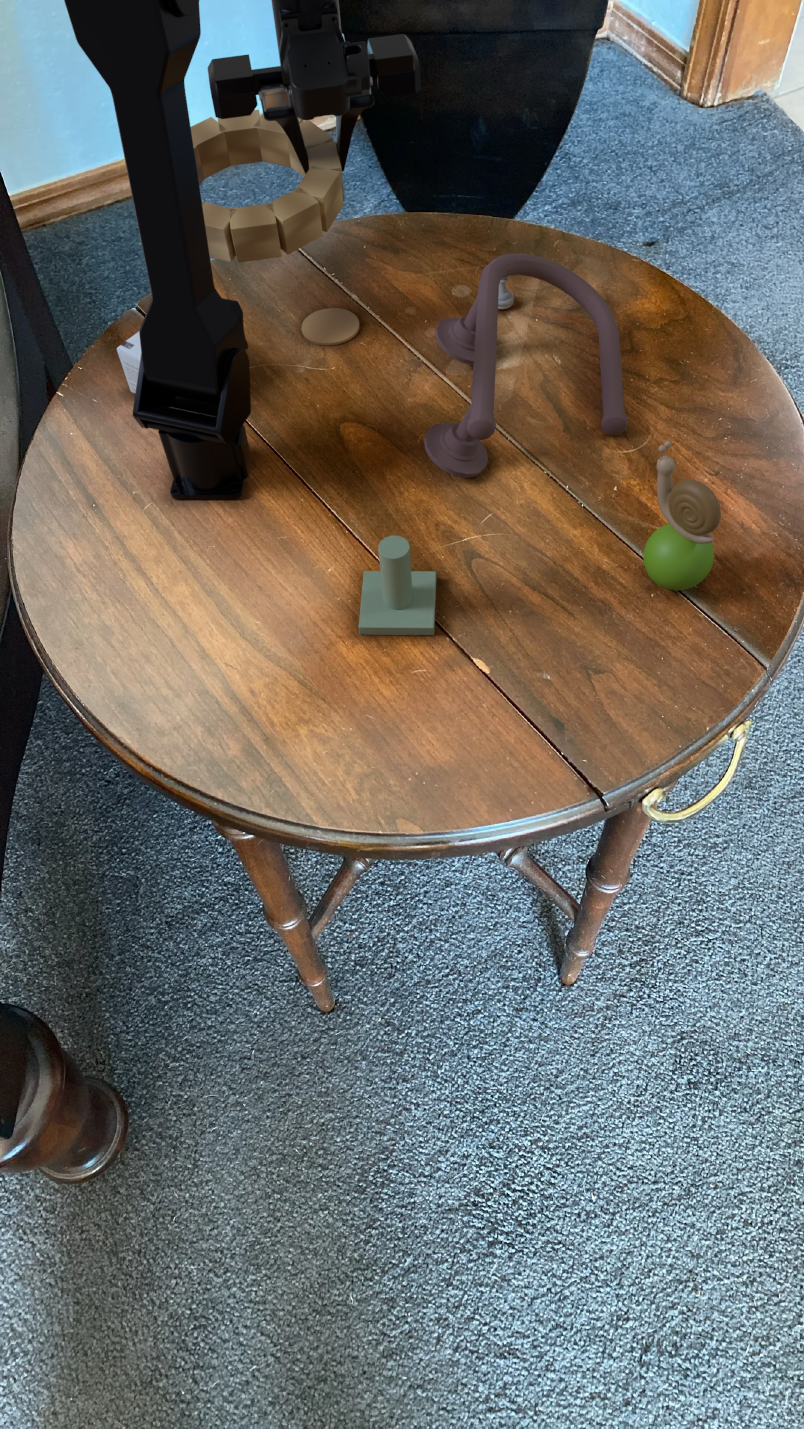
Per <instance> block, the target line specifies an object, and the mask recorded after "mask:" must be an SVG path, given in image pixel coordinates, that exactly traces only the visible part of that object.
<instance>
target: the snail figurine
mask: <svg viewBox="0 0 804 1429" xmlns="http://www.w3.org/2000/svg"><path fill="white" fill-rule="evenodd" d="M672 446H673V443H672V441H671V440H666V441H665V442H664V444H661V445H659V447H658V450H657V451H658V452H659V458H658V459H657V461H656V462H657V463H656V471H657V477H656V478H657V479H656V493H657V501H658V506H659V510H660V512H661V515H662V516H663V517H664V519H665V520H666V521H667V522H668V523H666V524H663V525H661V526H660V527H659V528H657V529H656V530H654V532H653V533H651V535H650V536H649V538H648V539H647V541H646V544H645V545H644V549H643V555H642V556H643V558H642V560H643V565H644V568H645V571H646V573H647V575H648V577H649V578H650V580H652V581H653V582H654V583H655V584H656V585H658V586H659V587H661V588H663V589H666V590H669V591H685V590H688V589H692V588H693V587H696V586H697V585H699V584H700V583H701V582H703V581H704V580H705V579H706V577H707V576H708V575H709V573H711V570H712V568H713V565H714V562H715V561H714V560H715V548H714V544H713V542H714V541H715V537H714V536H713V535H711V533H712V532H714V531H715V530H716V529H717V528H718V526H719V525H720V522H721V517H722V511H721V510H722V509H721V505H720V501H719V500H718V498H717V496H716V495H715V492H713V490H712V489H711V488H710V487H709V486H707V485H706V484H705V483H703V482H701V481H699V480H695V479H684V480H683V479H682V480H681V481H678V482H677V483H675V485H674V483H673V482H674V480H673V473H674V471H675V469H676V462H675V460H674V459H673V457H671V456H668V455H667V451H668V449H670V448H671V447H672ZM662 453H664V455H662Z"/></svg>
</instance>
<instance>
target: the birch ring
mask: <svg viewBox="0 0 804 1429" xmlns="http://www.w3.org/2000/svg"><path fill="white" fill-rule="evenodd" d="M298 120H299V124H300V128H301V132H302V136H303V140H304V143H305V147H306V152H307V156H308V164H309V170H308V172H307V173H306V174H305V172H304V170H303V167H302V165H301V163H300V161H299V159H298V157H297V154H296V152H295V150H294V148H293V146H292V144H291V142H290V140H289V138H288V136H287V135H286V133H285V131H284V130H283V128H282V127H281V126H280V125H279V124H278V123H277V122H276V121H267V120H265V119H264V115H263V112H262V113H261V112H260V109H255V110H254V111H253V112H252V114H251V115H250V116H242V117H235V118H228V119H220V118H217V120H216V119H215V118H214V117H212V116H210V117H208V118H205V119H204V120H202V121H200V122H198V123H196V124H194V125H190V127H191V134H192V140H193V147H194V154H195V160H196V167H197V174H198V181H199V187H200V186H201V185H202V184H203V182H204V181H205V180H206V179H207V178H210V177H211V176H214V175H216V174H218V173H220V172H221V171H224V170H226V169H228V168H230V167H233V166H241V165H247V164H255V163H268V164H272V165H277V166H282V167H287V168H291V169H293V171H295V172H296V173H297V174H299V175H300V176H301V177H303V178H302V179H301V181H300V182H299V184H298V185H297V187H296V188H295V189H292V190H291V191H289V192H288V193H286V194H284V195H282V196H279V197H278V198H276V199H274V200H272V201H270V202H268V203H263V204H255V205H248V206H242V207H240V206H239V207H228V206H224V205H219V204H215V203H211V202H206V201H202V208H203V214H204V221H205V228H206V235H207V241H208V248H209V255H210V259H214V260H220V261H223V262H228V263H232V262H233V261H234V259H235V257H236V261H237V263H238V264H240V263H246V262H253V261H254V262H255V261H259V260H260V261H261V260H267V259H275V258H281V257H282V256H283V255H282V252H284V253H285V254H286V255H290V254H292V253H294V252H296V251H297V250H299V249H301V248H303V247H305V246H307V245H308V244H310V243H312V242H314V241H316V240H317V239H319V238H321V237H323V236H324V232H325V233H327V232H329V230H330V228H331V227H332V225H333V223H334V222H335V220H336V219H337V217H338V215H339V214H340V212H341V211H342V209H343V207H344V204H345V203H344V202H345V191H344V182H343V181H344V180H343V172H342V169H341V163H340V159H339V154H338V150H337V145H336V141H334V137H333V136H332V135H331V134H329V133H327V132H326V131H325V130H323V129H322V128H321V127H319V126H318V125H317V124H315V123H314V122H312V121H311V120H302V119H300V118H298ZM282 258H283V257H282Z"/></svg>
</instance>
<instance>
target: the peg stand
mask: <svg viewBox="0 0 804 1429" xmlns="http://www.w3.org/2000/svg"><path fill="white" fill-rule="evenodd" d="M377 550H378V559H379V570H364V571H363V576H362V587H361V596H360V608H359V616H358V617H359V618H358V633H359V635H360V636H434V635H435V624H436V599H437V598H436V597H437V596H436V595H437V571H435V570H427V571H424V570H423V571H422V570H413V571H412V560H411V545H410V543H409V540H408V539H407V538H405V537H403V536H401V535H388V536H386V537H384V538H382V540H380V541H379V544H378V547H377Z"/></svg>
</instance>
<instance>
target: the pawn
mask: <svg viewBox="0 0 804 1429" xmlns="http://www.w3.org/2000/svg"><path fill="white" fill-rule="evenodd" d="M508 282H509V276H507V277H505V278H502V280H501V281H500V284H499V297H498V310H506V309H510V308H511V307H512V306H513V304H514V300H515V294H514V293H513V292H512V291H511V290H510V289H509V288H507V283H508Z"/></svg>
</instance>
